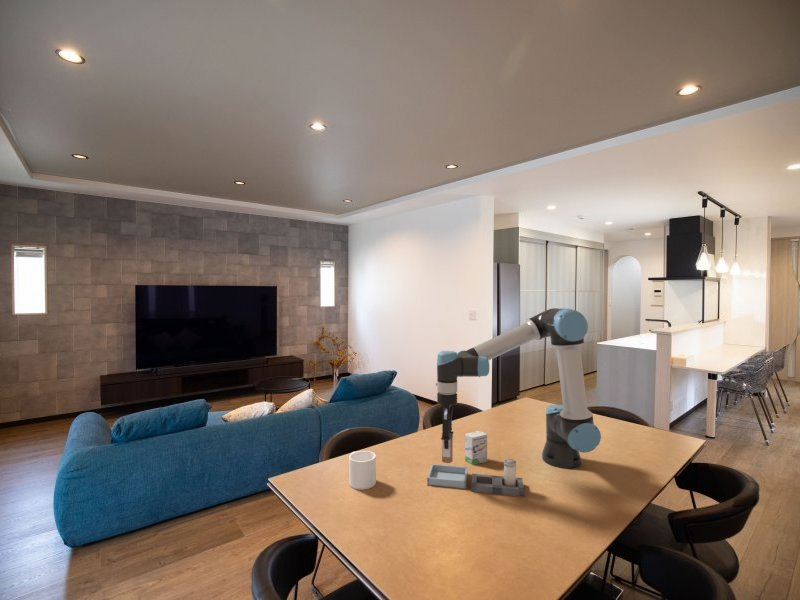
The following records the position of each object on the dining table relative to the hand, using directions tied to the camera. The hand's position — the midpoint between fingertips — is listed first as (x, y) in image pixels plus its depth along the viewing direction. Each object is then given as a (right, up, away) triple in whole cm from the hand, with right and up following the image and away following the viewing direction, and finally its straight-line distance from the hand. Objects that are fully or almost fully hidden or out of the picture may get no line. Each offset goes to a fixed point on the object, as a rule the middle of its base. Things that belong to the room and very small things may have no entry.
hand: (447, 453), depth 145 cm
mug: (-33, -11, -1) cm, 34 cm away
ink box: (+14, -10, +16) cm, 24 cm away
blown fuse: (0, -3, 0) cm, 3 cm away
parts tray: (0, -10, 0) cm, 10 cm away
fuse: (+22, -9, -8) cm, 25 cm away
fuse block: (+17, -10, -7) cm, 21 cm away
